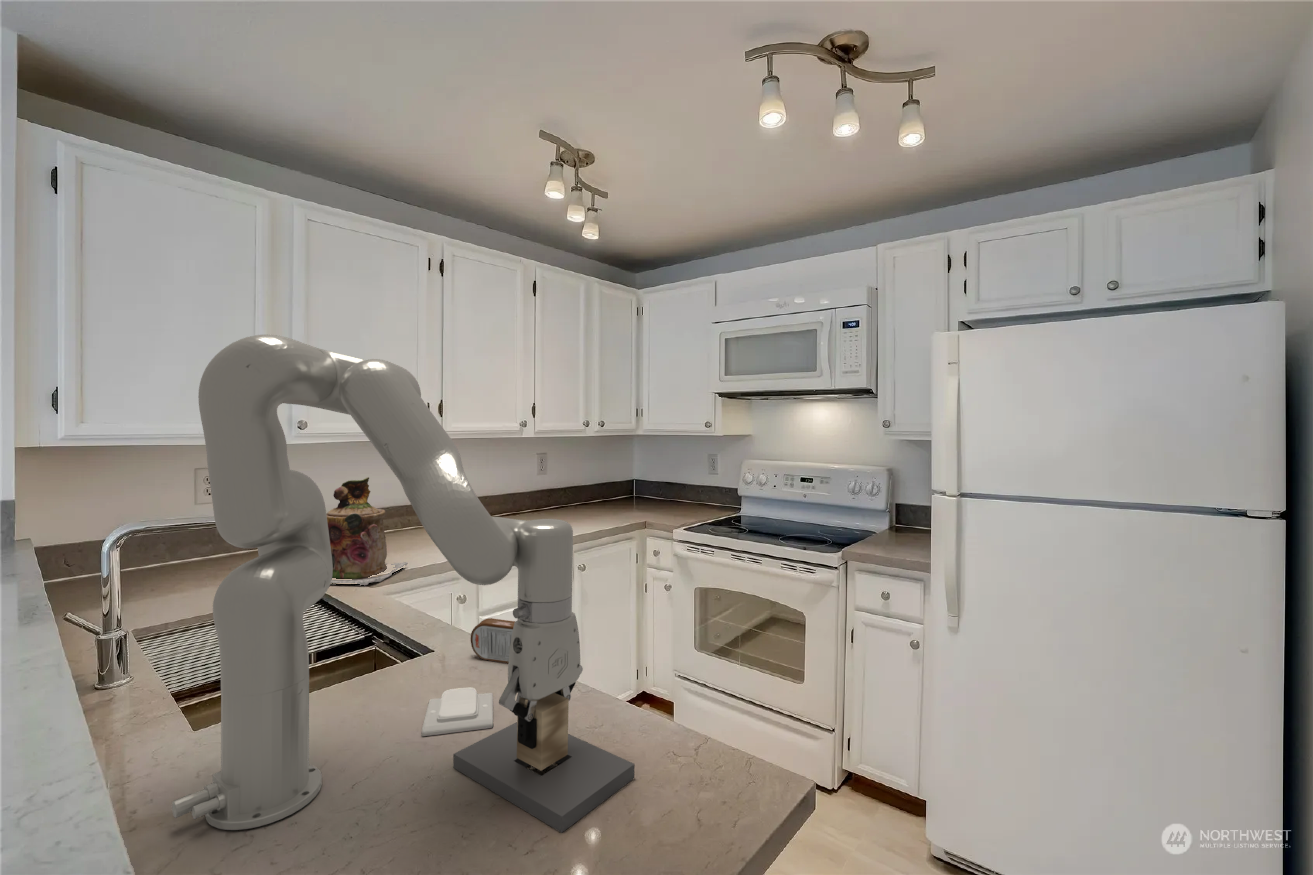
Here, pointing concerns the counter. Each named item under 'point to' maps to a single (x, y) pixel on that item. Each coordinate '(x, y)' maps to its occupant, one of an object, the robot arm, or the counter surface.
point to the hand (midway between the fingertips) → (542, 735)
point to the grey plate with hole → (546, 777)
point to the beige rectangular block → (547, 732)
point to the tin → (492, 639)
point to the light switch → (458, 712)
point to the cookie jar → (357, 536)
